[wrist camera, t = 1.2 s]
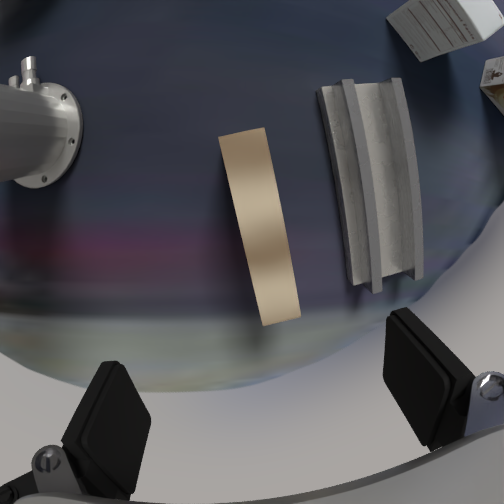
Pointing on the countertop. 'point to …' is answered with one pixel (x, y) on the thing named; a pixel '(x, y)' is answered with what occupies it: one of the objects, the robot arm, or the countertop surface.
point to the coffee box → (494, 82)
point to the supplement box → (445, 24)
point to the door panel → (261, 224)
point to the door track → (374, 179)
